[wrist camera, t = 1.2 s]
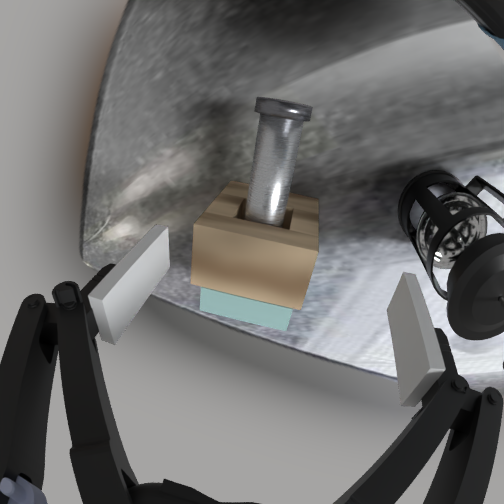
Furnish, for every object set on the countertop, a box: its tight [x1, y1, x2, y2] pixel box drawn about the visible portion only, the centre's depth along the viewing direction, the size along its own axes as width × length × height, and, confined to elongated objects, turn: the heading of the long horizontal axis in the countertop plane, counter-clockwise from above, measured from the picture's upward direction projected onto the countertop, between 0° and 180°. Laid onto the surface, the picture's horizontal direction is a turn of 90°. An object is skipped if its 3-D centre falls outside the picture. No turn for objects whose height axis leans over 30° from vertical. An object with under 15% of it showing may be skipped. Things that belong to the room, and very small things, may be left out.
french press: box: [398, 170, 504, 369], centre depth 21 cm, size 12×9×23 cm
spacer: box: [200, 287, 293, 331], centre depth 34 cm, size 3×9×9 cm, turn 82°
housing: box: [191, 181, 319, 310], centre depth 31 cm, size 6×10×12 cm, turn 82°
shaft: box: [244, 97, 313, 228], centre depth 29 cm, size 21×5×5 cm, turn 172°
